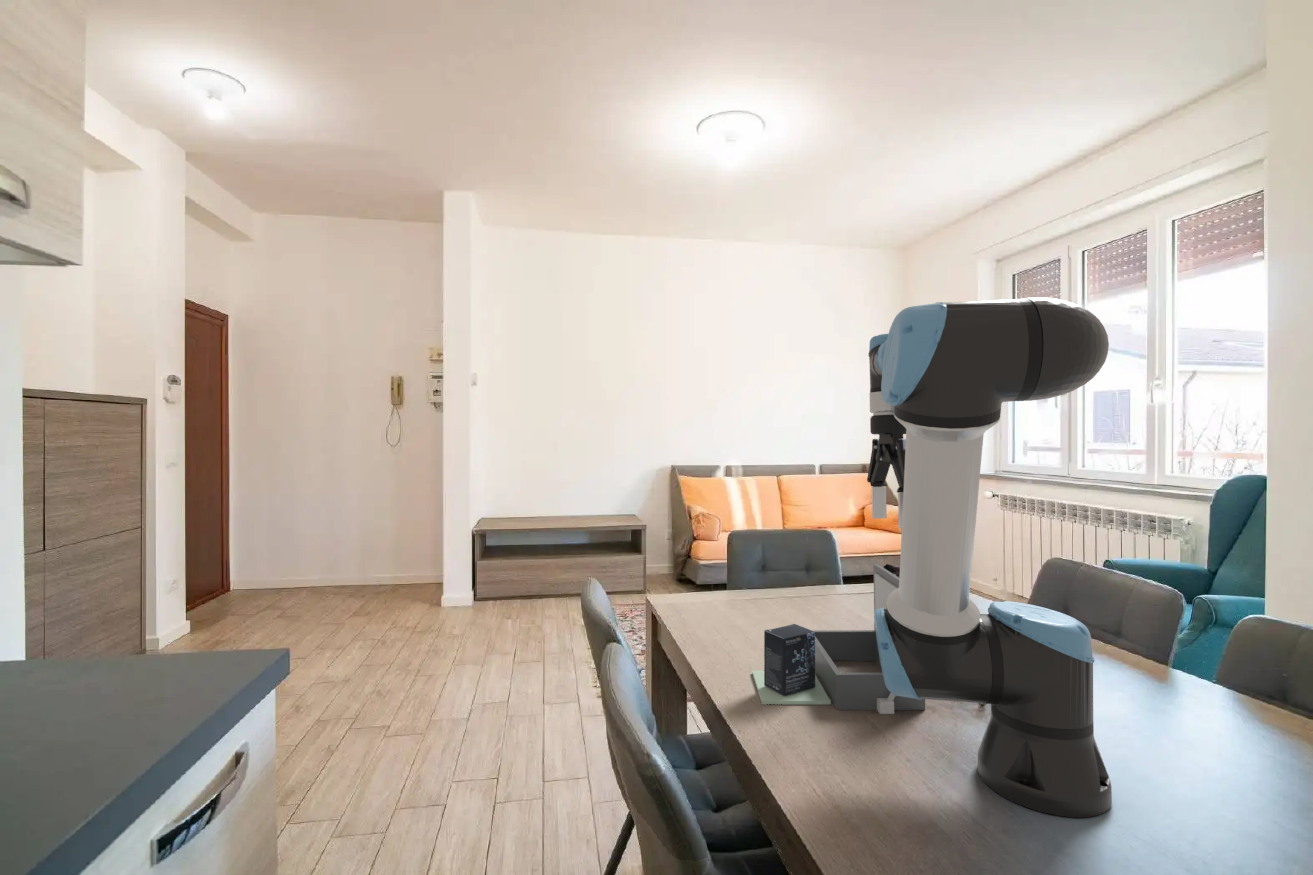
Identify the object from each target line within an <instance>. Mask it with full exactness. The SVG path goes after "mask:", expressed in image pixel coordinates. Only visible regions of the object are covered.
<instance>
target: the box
mask: <svg viewBox="0 0 1313 875" xmlns="http://www.w3.org/2000/svg"><path fill="white" fill-rule="evenodd" d="M814 631H815V630H812V629H809V628H808V627H807V628H806V627H804V626H801V625H799V624H796V623H793V624H789V625H785V626H780V627H779V626H778V627H776V628H771V629H765V630H763V633H764V636H763V639H764V641H763V643H764V644H763V646H764V649H763V650H764V651H763V654H764V656H763V659H764V664H763V665H764V667H763V669H764V670H763V671H764V685H765V686H766V687H768V688H769V689H771V690H773V691H774V692H776V693H778V694H780V695H782V696H786V695H788V694H792V693H795V692H799V691H802V690H806V689H809V688H814V687H815V675H816V673H815V632H814Z"/></svg>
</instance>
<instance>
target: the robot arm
mask: <svg viewBox="0 0 1313 875" xmlns="http://www.w3.org/2000/svg"><path fill="white" fill-rule="evenodd" d="M1109 345H1110V343H1109V335H1108V333H1107V331H1106V328H1105V326H1104V324H1103V323H1102V322H1101V320H1100V319H1099V318H1098V317H1097V316H1096V315H1095V314H1094V313H1092V312H1091V311H1090V310H1088V309H1087V308H1085V307H1083V306H1081V305H1078V304H1076V303H1074V302H1071V301H1067V300H1063V299H1058V298H1053V297H1052V298H1051V297H1025V298H1013V299H1011V298H1010V299H993V300H992V299H991V300H971V301H969V300H968V301H952V302H951V301H949V302H946V301H945V302H943V301H937V302H935V303H927V304H920V305H919V304H918V305H911V306H908V307H906V308H904V309H902V310H901V311H899V312H898V313H897V314H896V316H895V317H894V319H893V321H892V323H891V325H890V328H889V332H888V333H883V334H878V335H873V337H871V338H870V340H869V345H868V346H869V348H868V355H867V356H868V358H869V362H868V363H869V413H871V414H872V415H871V416H870V417H869V419H870V420H869V421H870V424H869V425H870V434H871V435H878V436H879V437H878V438H872V441H871V453H870V454H871V455H870V460H869V465H868V472H867V478H866V481H867V483H869V484H870V486H871V518H872V519H887V516H888V514H887V486H888V484H887V481H886V479H887V477H888V473H889V471H890V467H891V466H892V469H893V472H894V476H895V478H896V481H897V484H898V488H897V489H896V493H897V506H898V507H897V508H898V510H897V511H898V513H897V514H898V515H897V516H898V517H897V518H898V528H899V529H901V537H900V538H901V541H900V561H899V565H900V578H899V588H897V589H895V590H894V591H892V592H891V593H890V595H889V596H888V598H887V604H886V609H885V608H881V609H877V610H875V611H874V610H873V614H874V615H873V622H875V630H876V637H877V644H878V650H879V656H880V662H881V666H880V667H881V673H883V678H884V682H885V686H886V688H887V689H888V690H889V691H890V692H891V693H892V694H894V695H896V696H902V697H908V698H915V699H918V700H922V699H925V700H934V701H947V702H949V701H950V702H959V703H973V704H988V705H990V718H989V721H988V724H987V726H986V729H985V732H984V734H983V736H982V740H981V742H980V745H979V748H978V750H977V773H978V775H979V778H981V780H982V781H983V782H984V783H985V784H986V785H987V786H988V787H989V788H990V789H991V790H992V791H994V792H996V793H997V794H998V795H1000V796H1002V797H1004V798H1005V799H1007V800H1010V801H1011V802H1014V803H1015V804H1018V805H1020V806H1023V807H1025V808H1028V809H1031V810H1034V811H1038V812H1041V813H1043V814H1044V813H1045V814H1048V815H1049V814H1050V815H1054V816H1059V817H1061V816H1062V817H1066V818H1067V817H1068V818H1089V817H1091V818H1092V817H1096V816H1099V815H1102V814H1104V813H1107V811H1108V810H1110V808H1112V807H1111V806H1112V804H1113V799H1112V798H1113V797H1112V795H1113V794H1112V782H1111V779H1110V776H1109V774H1108V771H1107V768H1106V764H1105V763H1104V761H1103V760H1104V759H1103V757H1102V756H1101V753H1100V749H1099V747H1098V744H1097V742H1096V739H1095V734H1094V732H1095V731H1094V730H1095V729H1094V726H1095V725H1094V663H1095V658H1094V656H1093V647H1092V636H1091V633H1090V630H1089V629H1088V627H1087V626H1086V625H1085V624H1084V623H1082V622H1081V621H1080V620H1078V619H1076V618H1075V617H1073V616H1070V615H1068V614H1065V613H1063V612H1060V611H1057V610H1055V609H1054V610H1053V609H1050V608H1046V607H1043V606H1038V605H1035V604H1028V603H1024V602H1017V601H1011V600H1010V601H1009V600H1008V601H1007V600H1001V601H992V602H991V603H990V605H989V606H988V608H987V613H981V612H980V609H979V607H978V605H976V604H975V602H974V601H973V600H971V599H970V591H971V580H972V567H973V557H974V546H975V536H976V534H975V533H976V523H977V511H978V503H979V502H978V501H979V500H978V499H979V490H980V488H979V487H980V481H981V480H980V476H981V467H982V466H981V465H982V454H983V445H984V436H985V433H986V432H987V431H988V430H989V429H991V428H992V427H994V426H996V425H997V424H998V423H999V422H1000V420H1001V413H1002V404H1003V403H1008V402H1009V403H1010V402H1024V401H1025V402H1026V401H1028V402H1031V401H1039V400H1040V401H1041V400H1046V399H1051V398H1056V397H1059V396H1060V397H1061V396H1063V395H1065V394H1068V393H1071V392H1074V391H1075V390H1078V389H1079V388H1081V387H1082V386H1084V385H1086V384H1088V383H1089V382H1090V381H1091V380H1092V379H1094V378H1095V377H1096V375H1097V374H1098V373H1099V372H1100V371H1101V369H1102V368H1103V366H1104V365H1105V362H1106V360H1107V358H1108V355H1109ZM904 435H905V438H904Z"/></svg>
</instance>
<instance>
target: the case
mask: <svg viewBox="0 0 1313 875" xmlns="http://www.w3.org/2000/svg"><path fill="white" fill-rule="evenodd" d="M872 565H873V568H872V569H873V612H874V611H875V610H877V609H881V608H885V609H886V604H887V598H888V596H889V595H890V593H891V592H892V591H894V590H895V589H897V588H899V577H898V575H897V574H892V573H891V572H889V571H888V570H886V569H885V568H884V566H881V565H879V564H878V563H873V564H872ZM873 622H874V621H873ZM873 624H874V626H873V627H874V629H873V630H871V629H869V630H866V629H863V630H862V629H860V630H859V629H858V630H848V629H847V630H840V629H838V630H826V629H825V630H823V629H822V630H821V629H820V630H813V631H814V632H815V675H816V677H817V678H818V680H819V682H820V683H821V685H822V687H823V689H824V690H825V692H826V694H827V695H828V697H829V699H830V701H831V703H832V704H833V707H835V710H839V711H840V710H842V711H843V710H845V711H849V710H850V711H857V710H858V711H859V710H860V711H863V710H865V711H870V710H871V711H873V710H874V711H877V712H878V714H879V715H895V711H926V699H922V700H918V699H915V698H908V697H902V696H896V695H894V694H892V693H891V692H890V691H889V690H888V689H887V688H886V686H885V682H884V678H883V673H882V672H841V670H839V668H838V667H837V665H836V663H835V662H834V661H838V662H839V661H844V662H845V661H849V662H850V661H851V662H852V661H862V662H864V661H873V662H874V661H875V663H877V664H878V665H879V666H880V667H881V662H880V656H879V650H878V644H877V637H876V630H875V622H874V623H873Z"/></svg>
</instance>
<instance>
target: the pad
mask: <svg viewBox="0 0 1313 875" xmlns="http://www.w3.org/2000/svg"><path fill="white" fill-rule="evenodd" d="M751 672H752V677H753V680H754V683H755V686H756V690H757V693H758V696H759V699H760V702H762V703H761V705H767V704H768V705H769V704H772V705H773V704H775V705H776V706H777V704H778V706H779V705H781V704H782V705H797V706H798V705H800V706H802V705H804V706H805V705H810V706H811V705H812V706H813V705H814V706H815V705H820V706H823V705H830V706H831V705H832V701H831V699H830V697H829V696H828V694H827V692H826V690H825V689H824V687H823V685H822V684H821V682H820V680H819V678H818V677H817V675H816V674H815V687H814V688H809V689H806V690H802V691H799V692H795V693H792V694H788V695H786V696H782V695H780V694H778V693H776V692H774V691H773V690H771V689H769V688H768V687H766V686H765V685H764V670H752V671H751Z"/></svg>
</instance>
